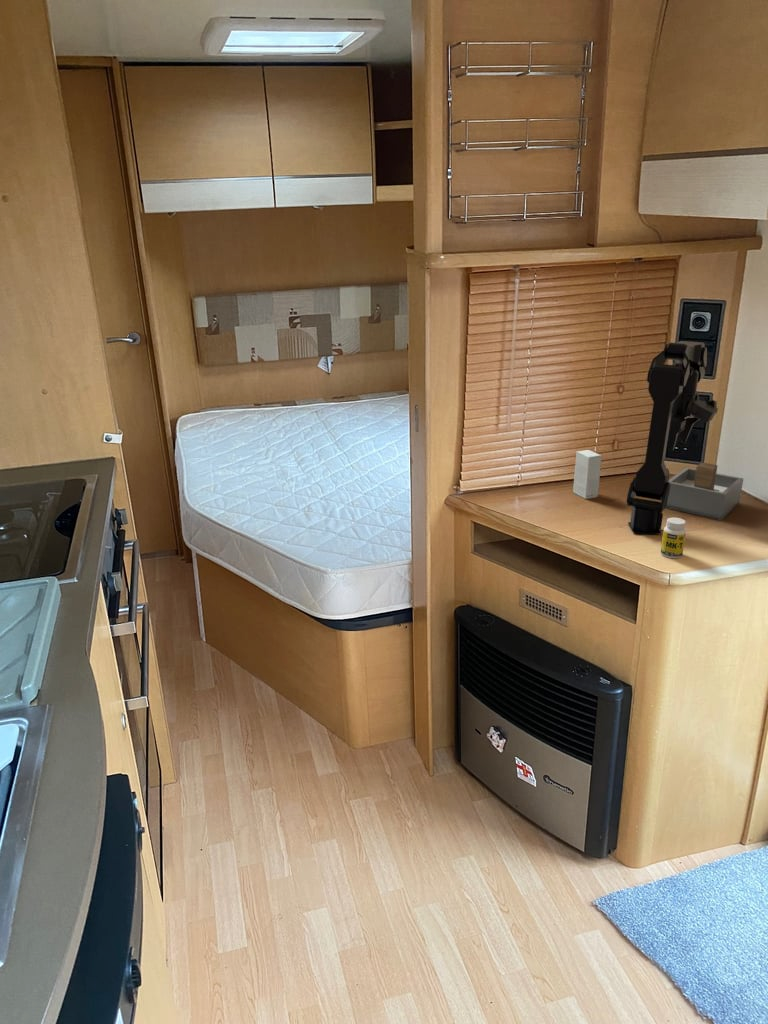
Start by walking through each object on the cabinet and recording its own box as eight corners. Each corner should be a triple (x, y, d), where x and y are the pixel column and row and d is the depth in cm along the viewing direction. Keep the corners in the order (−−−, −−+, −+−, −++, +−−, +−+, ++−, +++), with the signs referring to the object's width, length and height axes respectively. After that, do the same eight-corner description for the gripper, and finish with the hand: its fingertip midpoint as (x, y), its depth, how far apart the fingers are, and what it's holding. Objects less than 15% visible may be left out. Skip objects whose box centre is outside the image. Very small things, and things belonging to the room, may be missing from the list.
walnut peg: (707, 505, 202) (712, 469, 199) (691, 502, 205) (696, 466, 201) (712, 501, 205) (717, 465, 202) (696, 497, 208) (701, 462, 204)
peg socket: (720, 520, 196) (725, 494, 193) (662, 507, 205) (665, 481, 202) (739, 503, 206) (743, 478, 204) (682, 491, 215) (686, 467, 213)
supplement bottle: (662, 558, 176) (666, 524, 173) (658, 549, 180) (663, 516, 177) (684, 559, 175) (689, 525, 172) (680, 550, 179) (685, 517, 176)
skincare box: (598, 497, 212) (602, 455, 207) (585, 499, 210) (588, 457, 206) (585, 490, 217) (588, 449, 213) (572, 492, 216) (575, 451, 211)
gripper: (703, 401, 193) (695, 461, 199) (727, 387, 206) (719, 443, 212) (659, 394, 200) (652, 453, 205) (685, 382, 213) (678, 437, 219)
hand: (677, 446), depth 210 cm, fingers open, 9 cm apart
